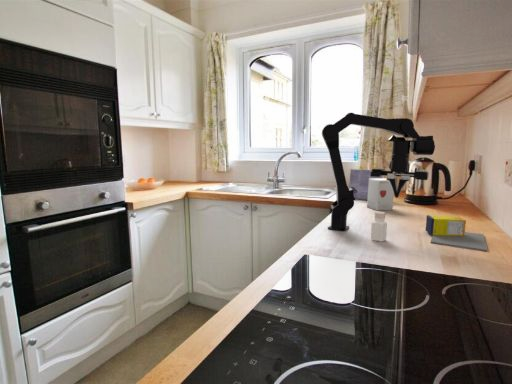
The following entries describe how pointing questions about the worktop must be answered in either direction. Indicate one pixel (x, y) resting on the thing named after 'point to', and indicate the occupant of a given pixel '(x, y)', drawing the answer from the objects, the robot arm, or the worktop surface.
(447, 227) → the supplement box
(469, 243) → the rubber mat
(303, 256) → the worktop surface
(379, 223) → the pepper shaker
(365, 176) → the cake pan box
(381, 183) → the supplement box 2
